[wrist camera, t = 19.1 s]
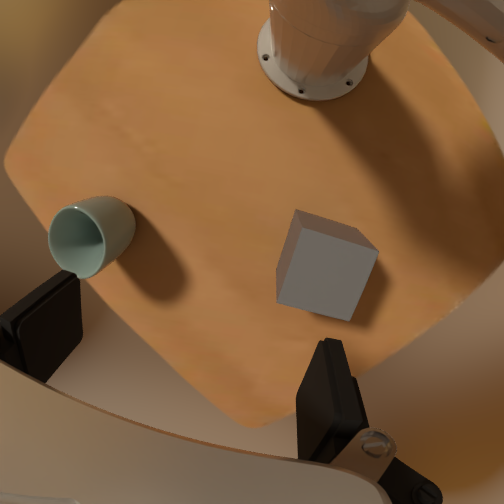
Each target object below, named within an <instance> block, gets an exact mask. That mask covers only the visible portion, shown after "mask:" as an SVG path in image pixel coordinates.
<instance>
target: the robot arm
mask: <svg viewBox="0 0 504 504" xmlns="http://www.w3.org/2000/svg"><path fill="white" fill-rule="evenodd" d="M414 1H416V2H419V3H421V4H423V5H424V6H426V7H428V8H429V9H431V10H433V11H434V12H436V13H437V14H439V15H440V16H442V17H443V18H445V19H446V20H448V21H449V22H451V23H452V24H454V25H455V26H456V27H458V28H459V29H461V30H462V31H463V32H465V33H466V34H467V35H469V36H470V37H471V38H473V39H474V40H475V41H477V42H478V43H479V44H480V45H481V46H483V47H484V48H485V49H487V50H488V51H489V52H490V53H492V54H493V55H494V56H495V57H497V58H498V59H499V60H500V61H501V62H502V63H503V64H504V0H414ZM409 4H410V0H269V7H270V18H268V20H267V21H266V22H265V24H264V25H263V26H262V28H261V31H260V33H259V36H258V41H257V54H258V59H259V62H260V65H261V67H262V69H263V71H264V73H265V74H266V76H267V77H268V78H269V79H270V80H271V82H272V83H273V84H274V85H276V86H277V87H278V88H279V89H281V90H282V91H284V92H286V93H288V94H289V95H291V96H294V97H297V98H300V99H304V100H310V101H326V100H332V99H335V98H338V97H340V96H343V95H345V94H346V93H348V92H349V91H351V90H352V89H353V88H355V87H356V86H357V84H358V83H359V82H360V81H361V80H362V78H363V76H364V74H365V72H366V69H367V65H368V54H370V53H371V52H372V51H373V50H374V49H375V48H376V47H377V46H378V45H379V44H380V43H381V42H382V41H383V40H384V39H385V38H386V37H387V36H389V35H390V34H391V33H392V32H393V31H394V30H395V29H396V28H397V27H398V26H399V24H400V23H401V22H402V20H403V19H404V17H405V16H406V13H407V10H408V7H409ZM264 58H268V61H264ZM346 82H348V83H349V84H350V85H349V86H348V85H346ZM300 90H302V91H303V94H300V93H299V91H300ZM82 337H83V329H82V315H81V295H80V280H79V278H77V275H76V274H75V273H73V272H70V271H67V270H61V271H60V272H59V273H57V274H56V275H54V276H53V277H51V278H50V279H49V280H47V281H46V282H45V283H43V284H42V285H40V286H39V287H37V288H36V289H35V290H33V291H32V292H31V293H29V294H28V295H27V296H25V297H24V298H22V299H21V300H20V301H18V302H17V303H16V304H15V305H13V306H12V307H11V308H9V309H8V310H7V311H6V312H4V313H3V314H2V315H0V504H442V502H443V499H442V498H443V497H442V493H441V491H440V489H439V488H438V487H437V486H436V485H435V484H434V483H433V482H431V481H430V480H428V479H427V478H425V477H424V476H422V475H420V474H419V473H417V472H416V471H415V470H413V469H411V468H410V467H409V466H407V465H406V464H404V463H403V462H401V461H400V460H398V459H397V458H396V457H394V456H395V454H396V451H397V450H396V449H397V447H396V443H395V441H394V439H393V438H392V437H391V436H390V435H389V434H388V433H386V432H385V431H382V430H381V429H377V428H369V424H368V420H367V416H366V412H365V408H364V405H363V401H362V397H361V394H360V390H359V387H358V383H357V380H356V378H355V377H352V376H351V373H350V369H349V365H348V362H347V358H346V355H345V351H344V348H343V344H342V341H341V340H337V339H332V338H325V340H324V341H321V340H320V341H319V343H318V345H317V347H316V350H315V352H314V355H313V357H312V359H311V362H310V364H309V366H308V369H307V371H306V373H305V376H304V378H303V380H302V383H301V385H300V387H299V389H298V392H297V395H296V417H297V444H298V459H294V458H287V457H280V456H273V455H267V454H262V453H256V452H251V451H246V450H240V449H235V448H230V447H225V446H221V445H216V444H211V443H208V442H203V441H199V440H195V439H192V438H188V437H184V436H181V435H177V434H174V433H170V432H166V431H163V430H160V429H156V428H153V427H150V426H147V425H144V424H141V423H138V422H135V421H133V420H129V419H127V418H124V417H121V416H119V415H116V414H113V413H111V412H108V411H106V410H103V409H101V408H98V407H96V406H93V405H91V404H88V403H86V402H84V401H81V400H79V399H77V398H74V397H72V396H70V395H68V394H65V393H63V392H61V391H59V390H57V389H55V388H53V387H51V386H49V385H47V384H45V383H46V382H47V380H48V379H49V378H50V377H51V376H52V374H53V373H54V372H55V371H56V370H57V369H58V367H59V366H60V365H61V364H62V363H63V361H64V360H65V359H66V358H67V357H68V355H69V354H70V353H71V352H72V351H73V350H74V349H75V347H76V346H77V345H78V344H79V343H80V342H81V340H82Z"/></svg>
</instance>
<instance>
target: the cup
mask: <svg viewBox="0 0 504 504" xmlns="http://www.w3.org/2000/svg"><path fill="white" fill-rule="evenodd" d="M135 230H136V220H135V216H134V214H133V212H132V210H131V209H130V208H129V206H128V205H127V204H126V203H124V202H123V201H122V200H120V199H118V198H115V197H112V196H96V197H91V198H87V199H84V200H81V201H78V202H75V203H72V204H70V205H67V206H65V207H63V208H62V209H61V210H59V211H58V212H57V214H56V215H55V216H54V218H53V220H52V222H51V225H50V228H49V233H48V242H49V248H50V251H51V253H52V255H53V257H54V259H55V261H56V262H57V263H58V265H59V266H60V267H61V268H62V269H63V270H67V271H70V272H73V273H75V274H76V275H77V278H80V279H86V278H90V277H92V276H94V275H96V274H98V273H99V272H101V271H102V270H103V269H104V268H106V267H107V266H108V265H109V264H111V263H112V262H113V261H114V260H115V259H117V258H118V257H119V256H120V255H121V254H122V253H123V252H124V251H125V250H126V248H127V247H128V246H129V245H130V243H131V241H132V239H133V237H134V234H135Z"/></svg>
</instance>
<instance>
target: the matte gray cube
mask: <svg viewBox="0 0 504 504" xmlns="http://www.w3.org/2000/svg"><path fill="white" fill-rule="evenodd" d="M378 253H379V251H378V250H377V249H376V248H375V247H374V246H373V244H372V243H371V242H370V241H369V240H368V239H367V238H366V237H365V236H364V235H363V234H362V233H361V232H360V231H359V230H358V229H357V228H354V227H351V226H348V225H345V224H341V223H338V222H335V221H332V220H329V219H326V218H323V217H319V216H316V215H313V214H310V213H307V212H303V211H300V210H297V209H296V210H295V213H294V216H293V219H292V222H291V225H290V229H289V232H288V235H287V238H286V241H285V244H284V247H283V250H282V253H281V257H280V260H279V263H278V266H277V269H276V292H277V303H279V304H283V305H287V306H291V307H294V308H298V309H302V310H306V311H310V312H314V313H318V314H321V315H325V316H329V317H333V318H337V319H341V320H346V321H350V319H351V317H352V315H353V312H354V310H355V308H356V306H357V303H358V301H359V299H360V297H361V294H362V292H363V290H364V287H365V285H366V283H367V280H368V278H369V276H370V273H371V271H372V268H373V266H374V263H375V261H376V258H377V256H378Z"/></svg>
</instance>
